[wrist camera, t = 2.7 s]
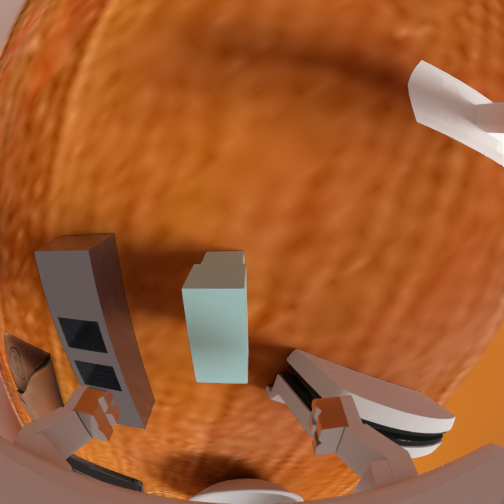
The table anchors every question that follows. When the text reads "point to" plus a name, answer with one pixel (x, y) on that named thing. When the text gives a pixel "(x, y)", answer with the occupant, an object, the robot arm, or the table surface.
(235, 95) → the table surface
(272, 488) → the dish
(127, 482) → the phone
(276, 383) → the napkin holder
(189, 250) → the table surface
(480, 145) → the heart sculpture
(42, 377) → the sunglasses case
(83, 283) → the grey rectangular block
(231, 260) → the pale teal plug block
